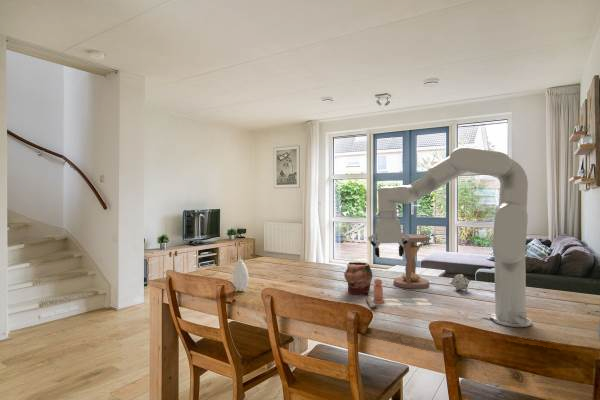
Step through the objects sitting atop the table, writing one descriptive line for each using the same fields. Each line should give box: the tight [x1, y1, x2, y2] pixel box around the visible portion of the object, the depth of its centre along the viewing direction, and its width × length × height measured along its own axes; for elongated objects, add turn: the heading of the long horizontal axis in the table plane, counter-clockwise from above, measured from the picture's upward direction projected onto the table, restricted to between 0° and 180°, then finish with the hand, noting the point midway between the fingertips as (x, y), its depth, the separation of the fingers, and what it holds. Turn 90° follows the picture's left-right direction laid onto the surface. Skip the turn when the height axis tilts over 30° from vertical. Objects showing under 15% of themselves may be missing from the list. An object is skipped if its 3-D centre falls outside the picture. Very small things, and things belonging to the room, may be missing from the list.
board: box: [366, 297, 433, 310], centre depth 150 cm, size 12×26×1 cm, turn 88°
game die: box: [449, 272, 472, 293], centre depth 170 cm, size 9×8×10 cm
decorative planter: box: [343, 261, 373, 296], centre depth 171 cm, size 20×12×14 cm, turn 148°
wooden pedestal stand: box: [393, 233, 430, 290], centre depth 183 cm, size 18×18×25 cm
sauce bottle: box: [231, 256, 250, 291], centre depth 176 cm, size 8×8×18 cm
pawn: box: [372, 278, 385, 304], centre depth 150 cm, size 5×5×10 cm
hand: (389, 256), depth 151 cm, fingers open, 9 cm apart
